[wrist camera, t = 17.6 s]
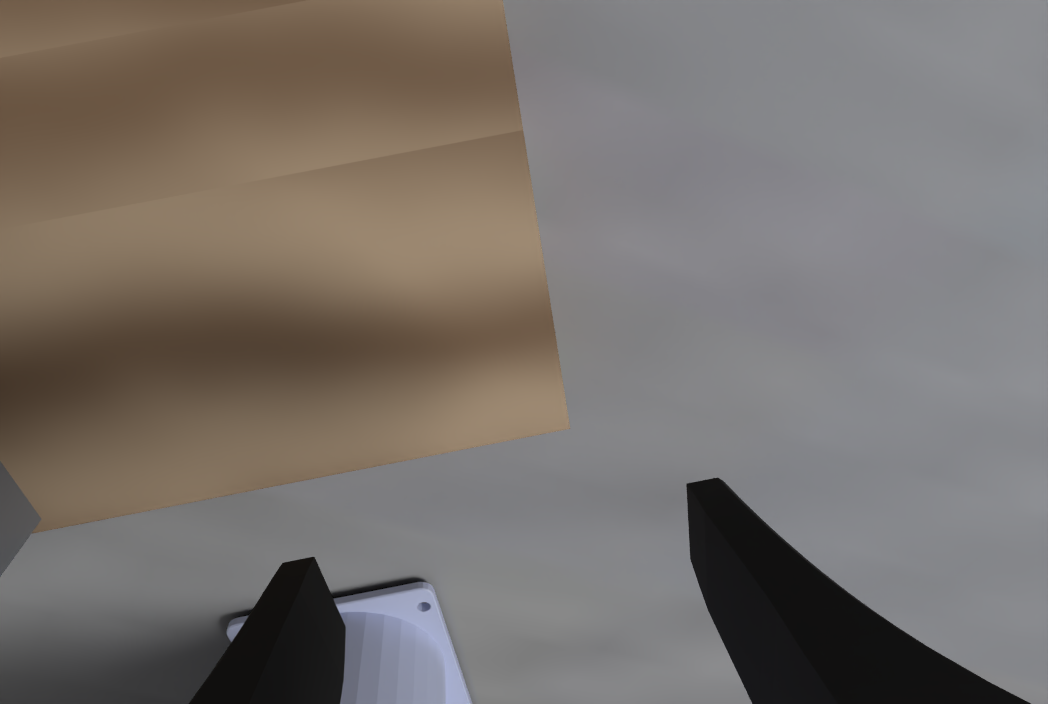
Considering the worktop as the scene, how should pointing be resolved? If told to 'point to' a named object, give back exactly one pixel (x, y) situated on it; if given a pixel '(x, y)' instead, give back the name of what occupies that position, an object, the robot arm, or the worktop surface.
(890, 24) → the worktop surface
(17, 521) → the block
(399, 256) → the board
